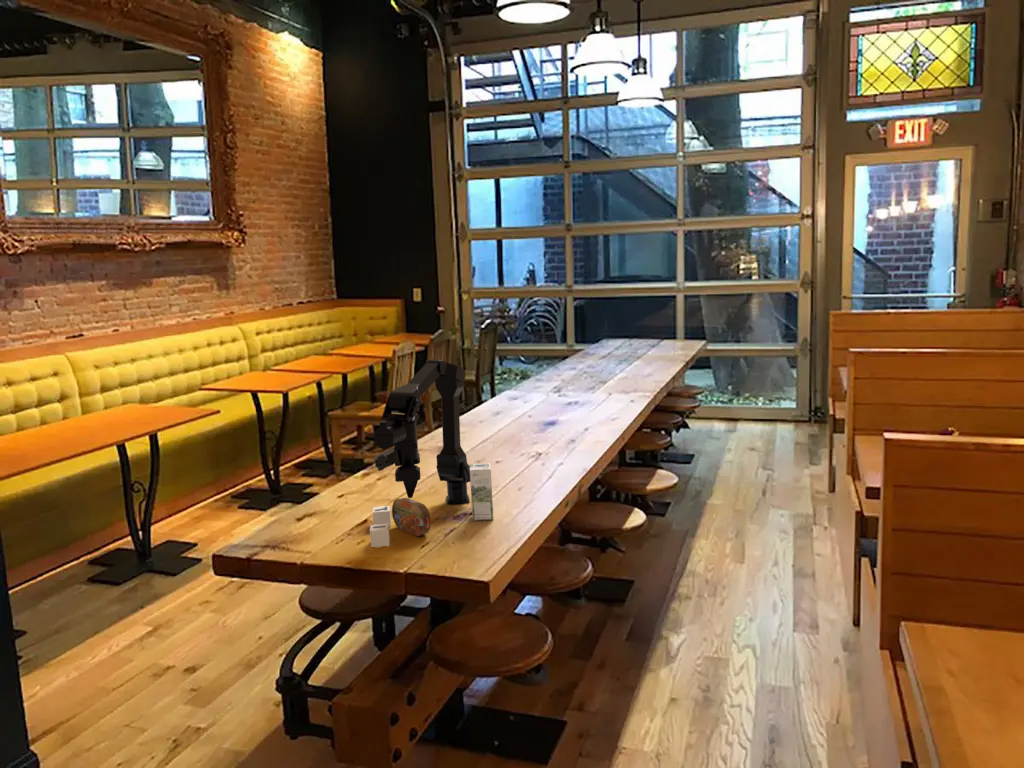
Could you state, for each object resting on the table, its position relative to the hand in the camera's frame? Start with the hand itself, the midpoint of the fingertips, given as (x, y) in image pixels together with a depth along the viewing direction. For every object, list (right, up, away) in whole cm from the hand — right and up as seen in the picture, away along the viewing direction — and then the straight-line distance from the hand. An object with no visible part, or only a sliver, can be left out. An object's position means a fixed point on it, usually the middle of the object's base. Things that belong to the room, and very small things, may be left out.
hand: (410, 497), depth 215 cm
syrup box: (+19, -7, +10) cm, 22 cm away
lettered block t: (-8, -8, +8) cm, 14 cm away
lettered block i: (-7, -11, -6) cm, 14 cm away
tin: (0, -9, +2) cm, 9 cm away
